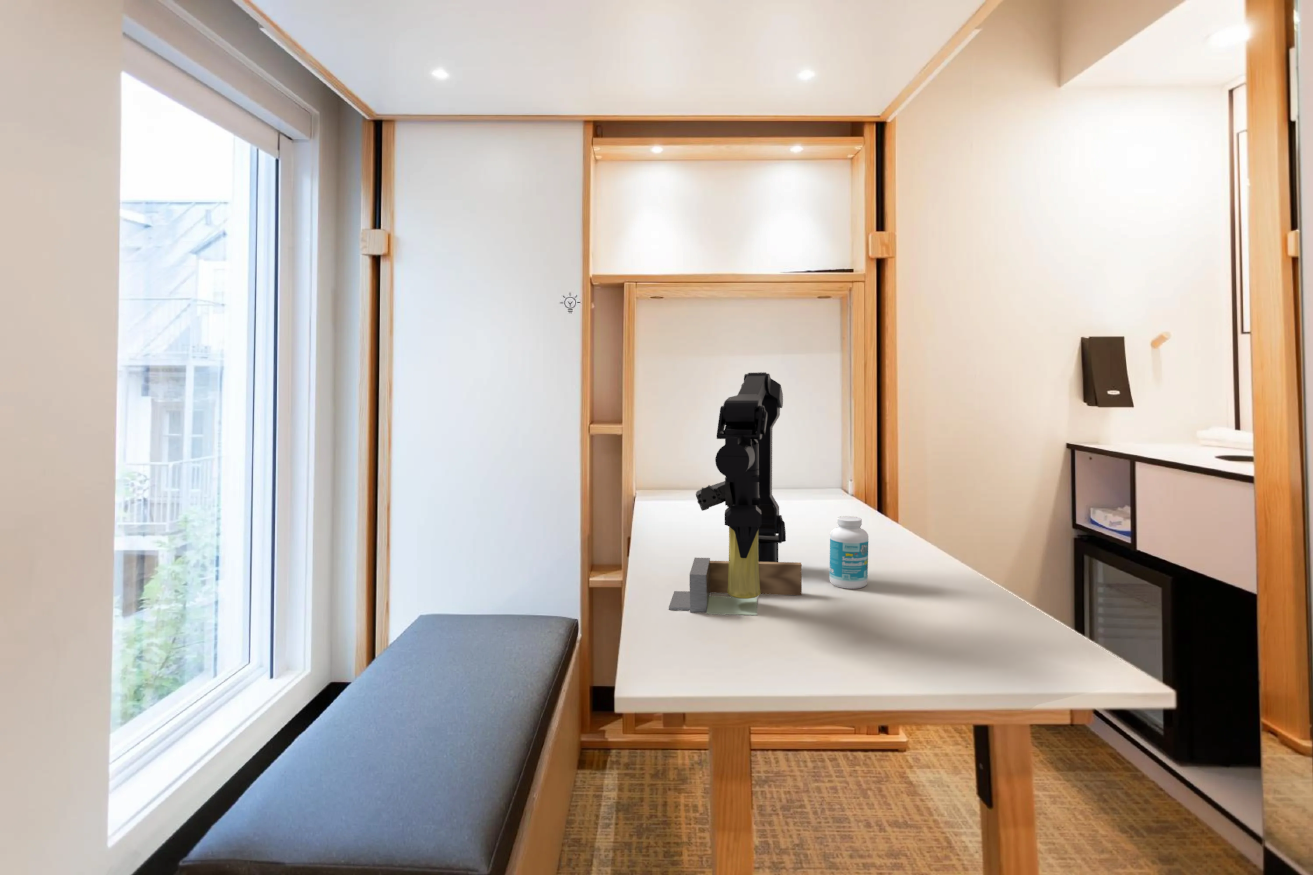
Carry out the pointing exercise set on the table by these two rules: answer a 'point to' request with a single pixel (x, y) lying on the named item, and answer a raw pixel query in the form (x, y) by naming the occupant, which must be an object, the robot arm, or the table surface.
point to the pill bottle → (849, 553)
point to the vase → (743, 570)
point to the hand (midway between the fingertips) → (743, 553)
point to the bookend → (694, 589)
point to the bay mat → (732, 606)
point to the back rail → (762, 577)
